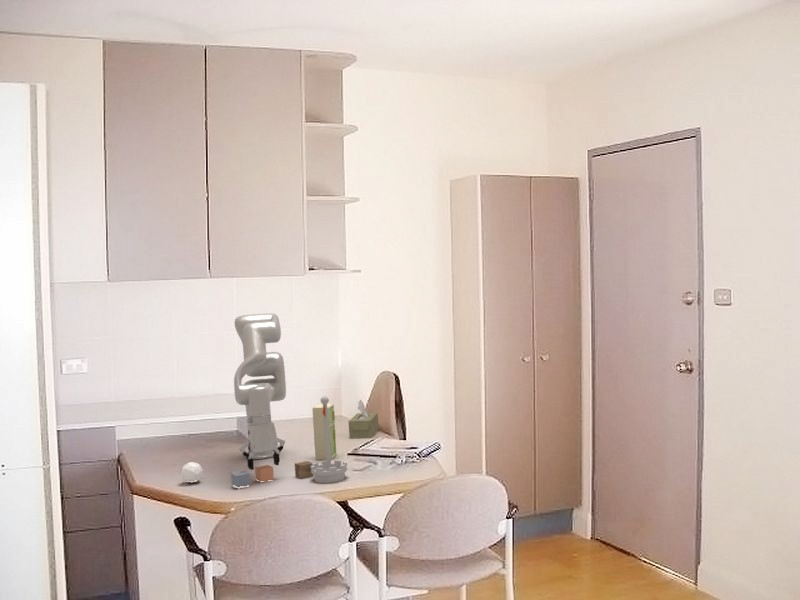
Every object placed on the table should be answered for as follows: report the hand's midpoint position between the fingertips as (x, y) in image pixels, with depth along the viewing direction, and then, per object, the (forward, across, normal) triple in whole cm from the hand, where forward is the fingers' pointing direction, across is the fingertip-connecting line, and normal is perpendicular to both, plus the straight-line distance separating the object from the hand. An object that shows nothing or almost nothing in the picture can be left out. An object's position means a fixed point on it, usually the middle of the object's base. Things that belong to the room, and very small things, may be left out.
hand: (263, 466), depth 328 cm
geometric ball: (+5, -22, +16) cm, 28 cm away
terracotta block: (+5, 0, +1) cm, 5 cm away
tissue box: (+4, +66, +49) cm, 82 cm away
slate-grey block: (+5, -10, -2) cm, 11 cm away
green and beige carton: (+5, +33, +18) cm, 38 cm away
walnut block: (+5, +14, -4) cm, 15 cm away
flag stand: (+5, +19, -14) cm, 25 cm away
